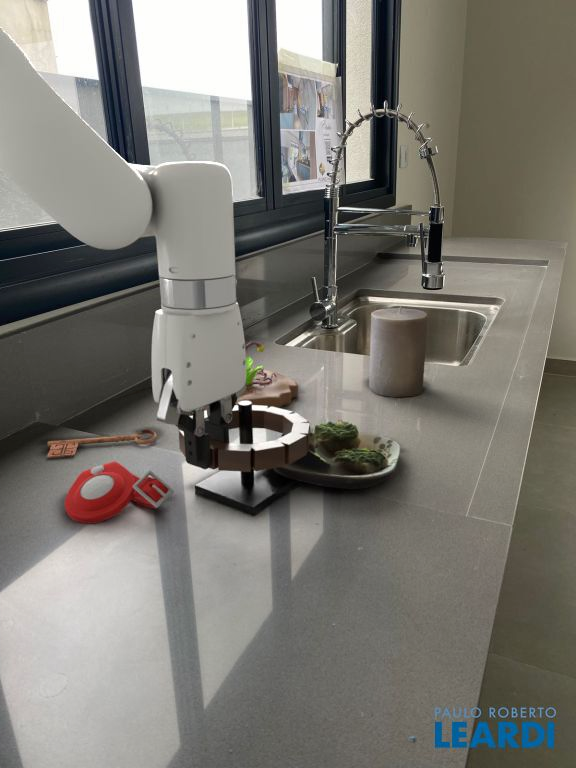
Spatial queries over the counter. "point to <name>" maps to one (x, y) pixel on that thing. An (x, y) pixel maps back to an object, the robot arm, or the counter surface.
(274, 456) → the ring
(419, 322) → the pillar candle
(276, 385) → the plant
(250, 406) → the stand
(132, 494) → the tracker holder
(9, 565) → the counter surface
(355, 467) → the salad plate
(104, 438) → the key
